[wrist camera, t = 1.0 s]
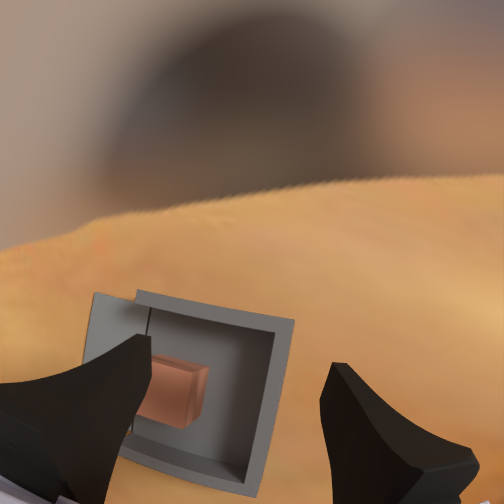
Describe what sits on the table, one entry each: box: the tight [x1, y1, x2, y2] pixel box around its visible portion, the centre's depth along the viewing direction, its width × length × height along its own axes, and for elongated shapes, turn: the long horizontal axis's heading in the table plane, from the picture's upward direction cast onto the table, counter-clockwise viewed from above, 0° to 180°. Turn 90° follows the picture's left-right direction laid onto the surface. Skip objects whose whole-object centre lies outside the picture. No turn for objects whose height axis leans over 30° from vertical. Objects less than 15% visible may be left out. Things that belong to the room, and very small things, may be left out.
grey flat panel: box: [83, 292, 151, 431], centre depth 24 cm, size 11×6×1 cm, turn 170°
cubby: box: [118, 289, 295, 498], centre depth 21 cm, size 13×11×4 cm
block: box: [136, 354, 210, 429], centre depth 21 cm, size 4×4×4 cm
